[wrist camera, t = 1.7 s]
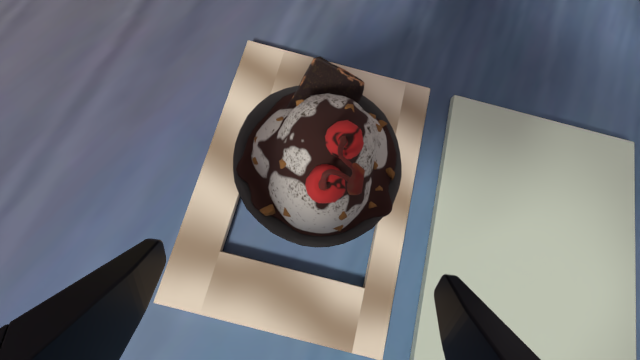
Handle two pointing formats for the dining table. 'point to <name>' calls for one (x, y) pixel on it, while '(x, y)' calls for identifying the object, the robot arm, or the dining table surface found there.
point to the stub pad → (535, 232)
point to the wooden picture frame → (276, 281)
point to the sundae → (318, 160)
